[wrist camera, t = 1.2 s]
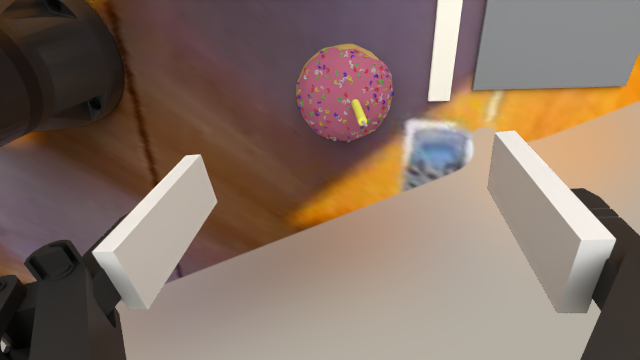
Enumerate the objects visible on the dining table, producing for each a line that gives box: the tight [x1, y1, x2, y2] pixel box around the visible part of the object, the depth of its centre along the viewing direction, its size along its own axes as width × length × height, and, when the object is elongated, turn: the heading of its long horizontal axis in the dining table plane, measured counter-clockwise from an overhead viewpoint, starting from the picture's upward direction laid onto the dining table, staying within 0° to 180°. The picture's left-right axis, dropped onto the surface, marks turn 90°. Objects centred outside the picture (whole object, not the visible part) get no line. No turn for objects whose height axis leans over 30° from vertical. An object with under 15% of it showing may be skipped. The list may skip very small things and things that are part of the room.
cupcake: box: [296, 44, 393, 142], centre depth 29 cm, size 9×8×12 cm
